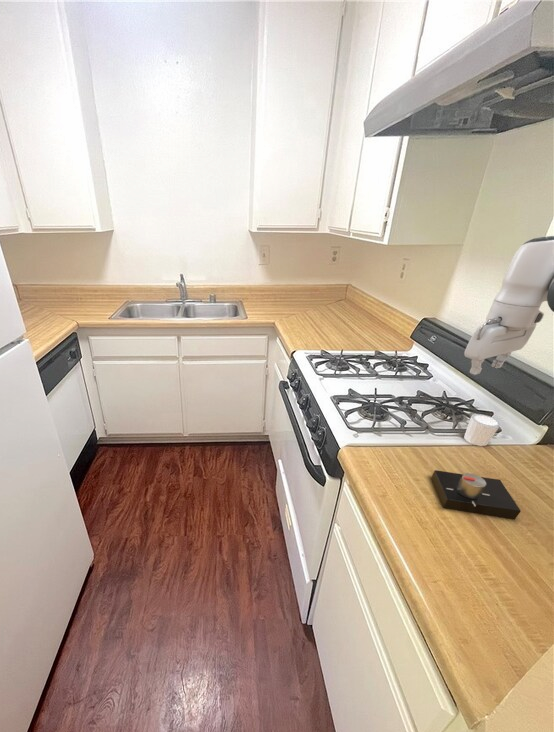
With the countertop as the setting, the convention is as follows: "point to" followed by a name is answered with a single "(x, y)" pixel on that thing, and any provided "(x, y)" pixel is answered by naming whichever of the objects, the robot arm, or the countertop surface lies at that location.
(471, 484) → the hob knob
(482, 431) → the white cylinder
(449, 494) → the black knob base
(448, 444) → the countertop surface
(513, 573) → the countertop surface
